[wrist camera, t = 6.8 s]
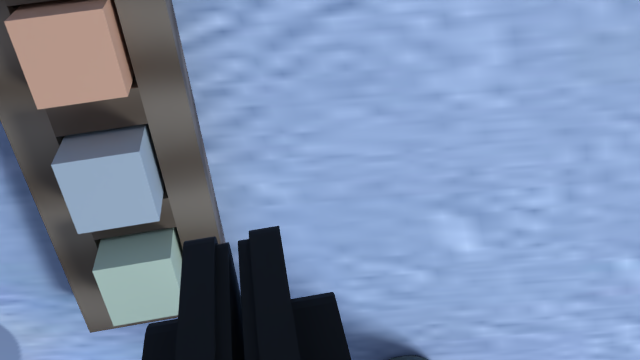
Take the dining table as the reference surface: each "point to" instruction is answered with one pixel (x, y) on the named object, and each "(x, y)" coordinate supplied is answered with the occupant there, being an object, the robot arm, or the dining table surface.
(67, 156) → the slate button
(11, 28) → the terracotta button
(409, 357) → the bottle
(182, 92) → the console
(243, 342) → the robot arm
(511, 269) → the dining table surface
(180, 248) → the sage button
